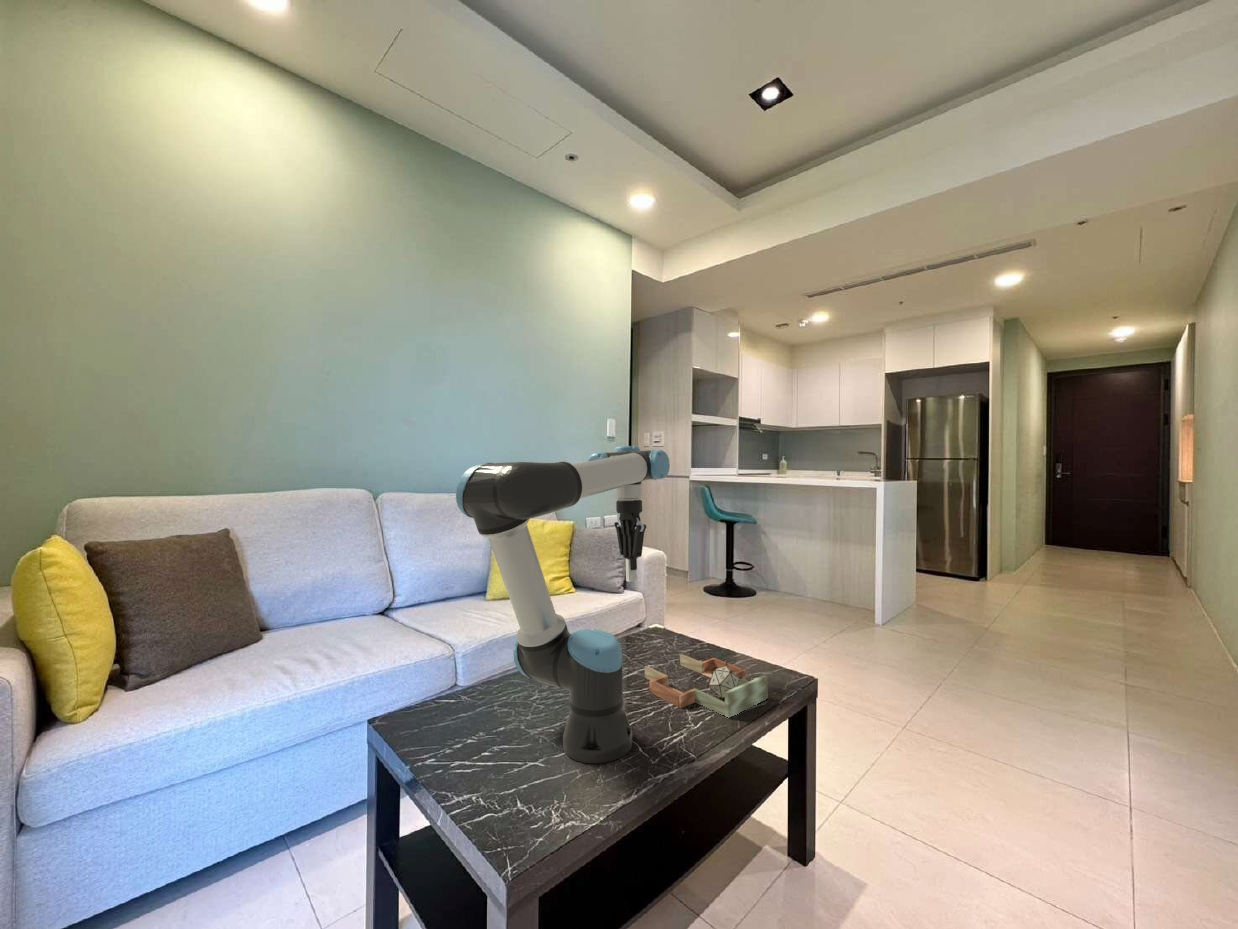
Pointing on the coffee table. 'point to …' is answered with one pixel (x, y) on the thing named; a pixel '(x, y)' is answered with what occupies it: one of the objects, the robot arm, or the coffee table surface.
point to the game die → (723, 680)
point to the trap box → (734, 698)
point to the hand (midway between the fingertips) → (631, 580)
